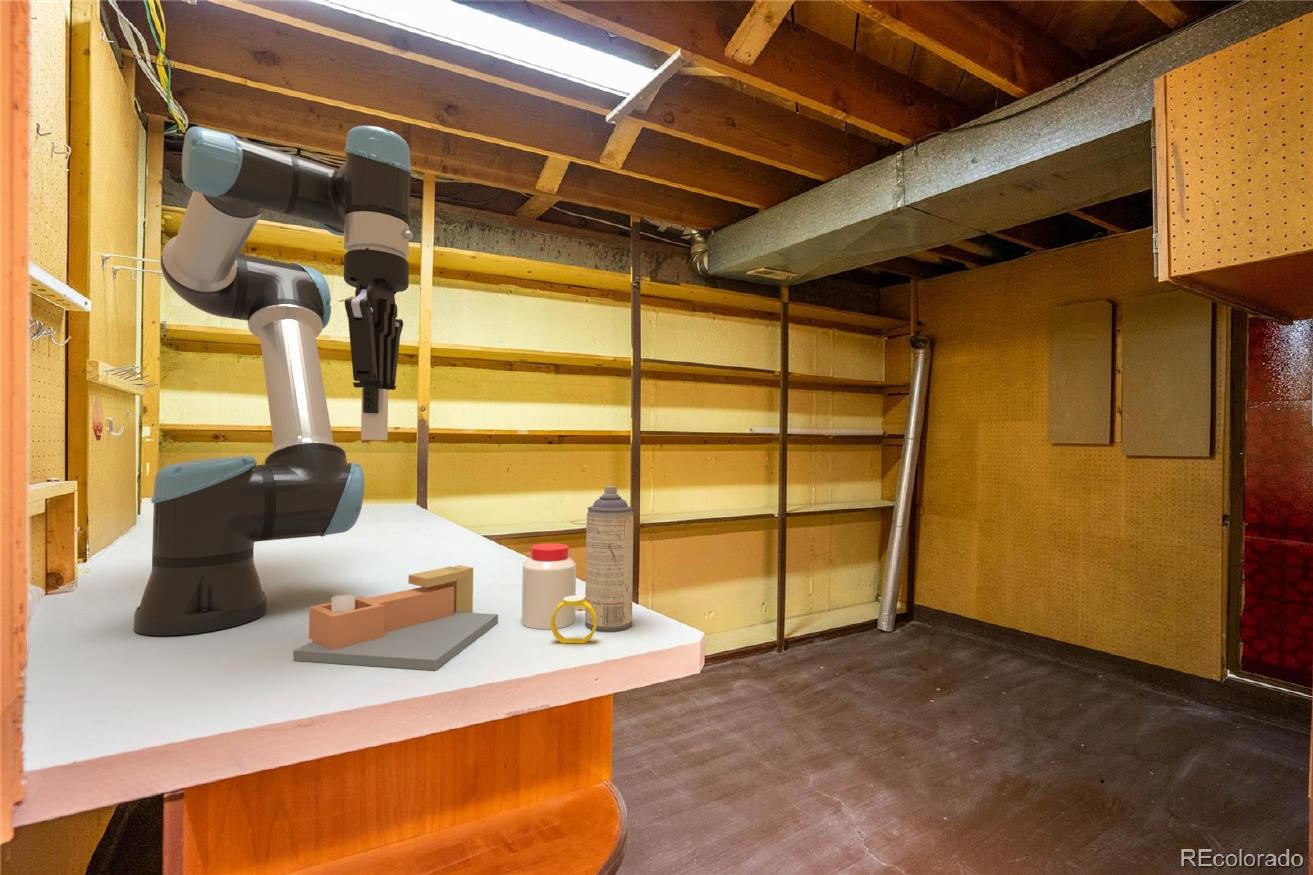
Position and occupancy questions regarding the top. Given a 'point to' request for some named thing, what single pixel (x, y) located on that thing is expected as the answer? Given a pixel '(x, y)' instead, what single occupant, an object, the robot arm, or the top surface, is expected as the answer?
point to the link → (379, 615)
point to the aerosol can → (609, 562)
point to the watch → (573, 602)
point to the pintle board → (413, 630)
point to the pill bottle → (548, 586)
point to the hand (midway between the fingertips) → (374, 439)
